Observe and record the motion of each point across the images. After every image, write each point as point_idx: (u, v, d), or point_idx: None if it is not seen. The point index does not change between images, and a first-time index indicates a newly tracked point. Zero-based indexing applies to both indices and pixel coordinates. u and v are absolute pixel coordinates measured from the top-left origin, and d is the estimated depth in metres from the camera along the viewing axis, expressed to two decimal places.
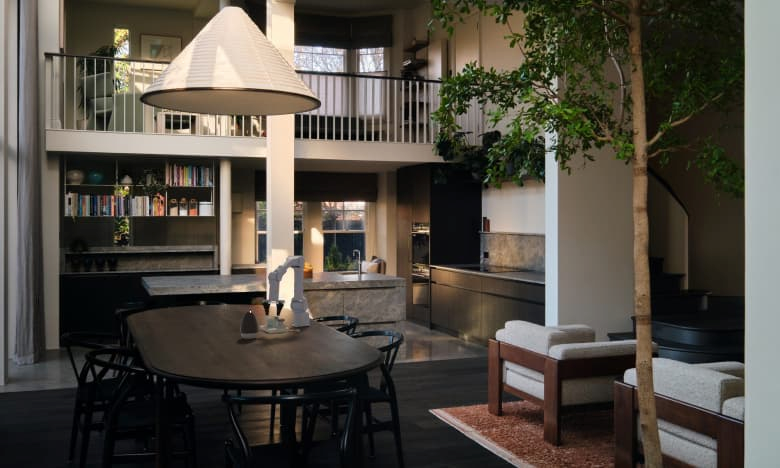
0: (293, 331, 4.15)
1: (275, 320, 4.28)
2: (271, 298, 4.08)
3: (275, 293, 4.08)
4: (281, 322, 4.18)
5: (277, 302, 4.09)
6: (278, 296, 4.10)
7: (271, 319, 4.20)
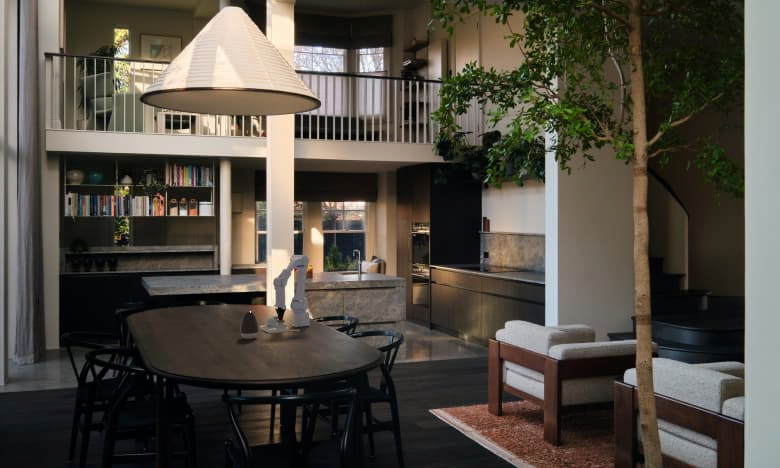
0: (293, 331, 4.15)
1: (275, 320, 4.28)
2: (276, 304, 4.17)
3: (278, 299, 4.16)
4: (281, 323, 4.18)
5: (281, 307, 4.16)
6: (283, 301, 4.17)
7: (271, 319, 4.20)
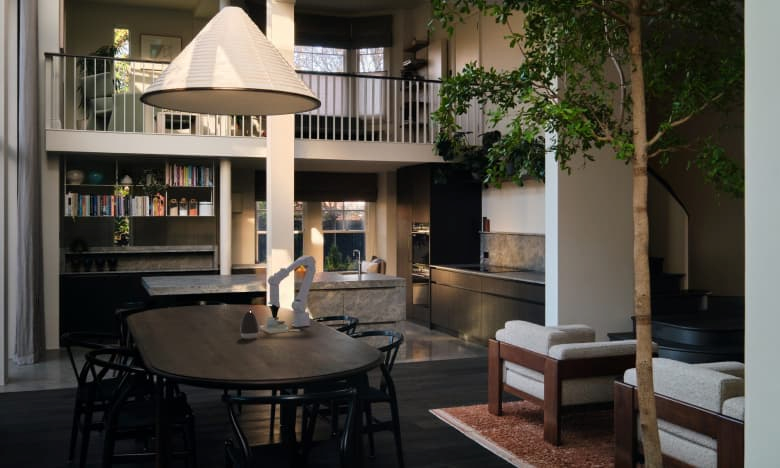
0: (293, 331, 4.15)
1: (275, 321, 4.28)
2: (270, 301, 4.27)
3: (272, 296, 4.26)
4: None
5: (275, 305, 4.26)
6: (277, 299, 4.26)
7: (271, 319, 4.20)
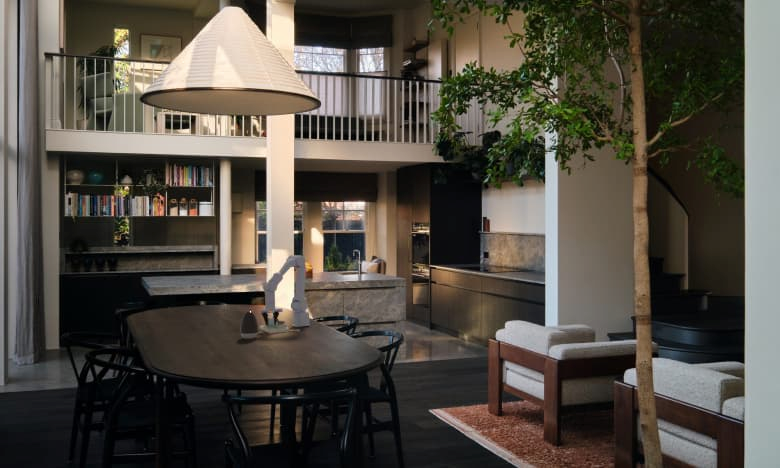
0: (293, 331, 4.15)
1: None
2: None
3: None
4: None
5: None
6: (266, 306, 4.20)
7: (271, 319, 4.20)
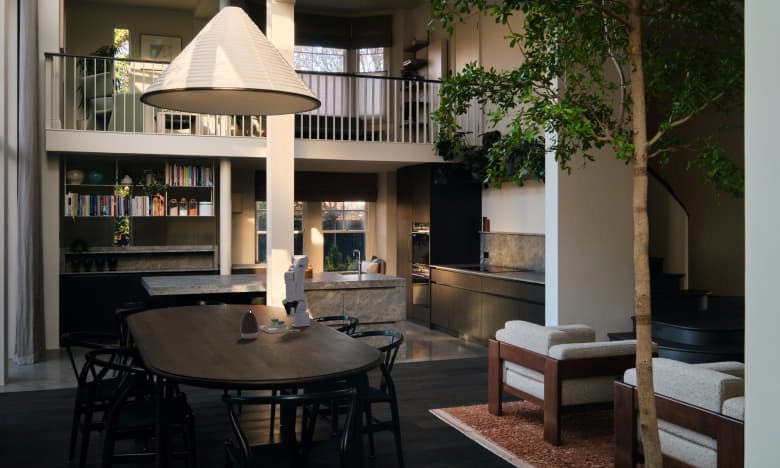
0: (293, 331, 4.15)
1: None
2: None
3: (286, 293, 4.17)
4: None
5: None
6: (289, 295, 4.16)
7: (293, 308, 4.18)
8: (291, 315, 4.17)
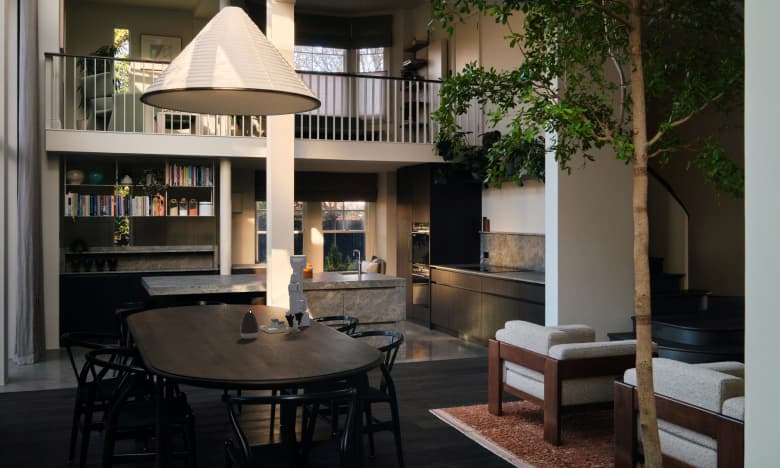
0: (293, 331, 4.15)
1: None
2: None
3: (289, 304, 4.17)
4: None
5: None
6: (292, 307, 4.15)
7: (297, 322, 4.17)
8: (295, 328, 4.16)
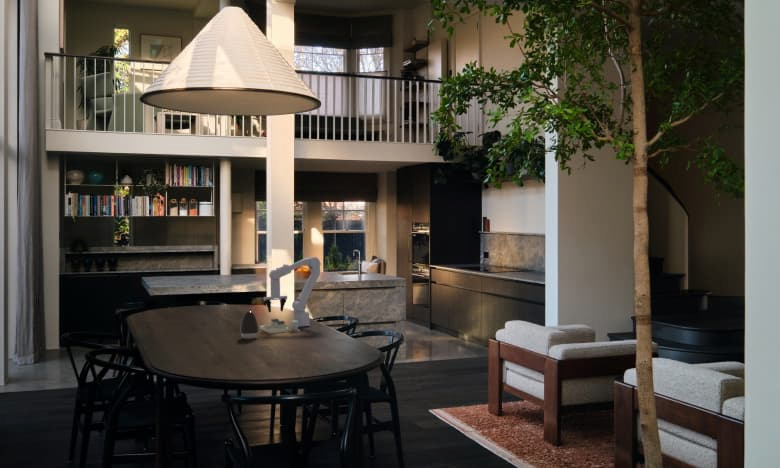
0: (293, 331, 4.15)
1: None
2: None
3: None
4: None
5: None
6: (271, 293, 4.30)
7: (297, 322, 4.17)
8: (295, 328, 4.16)
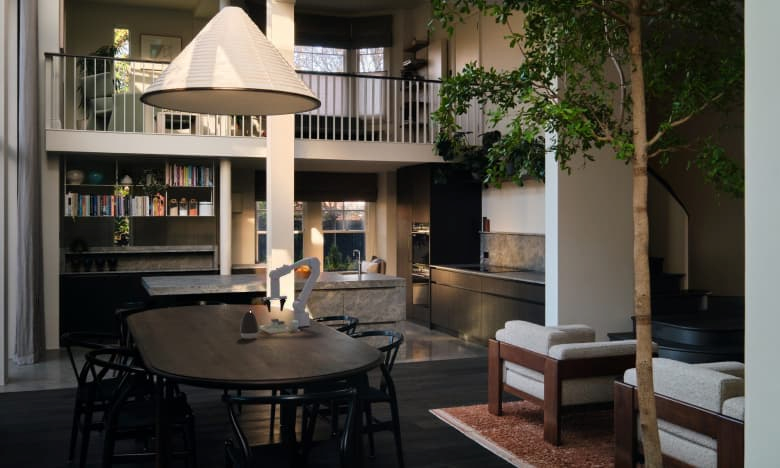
0: (293, 331, 4.15)
1: None
2: None
3: None
4: None
5: None
6: (271, 293, 4.30)
7: (297, 322, 4.17)
8: (295, 328, 4.16)
